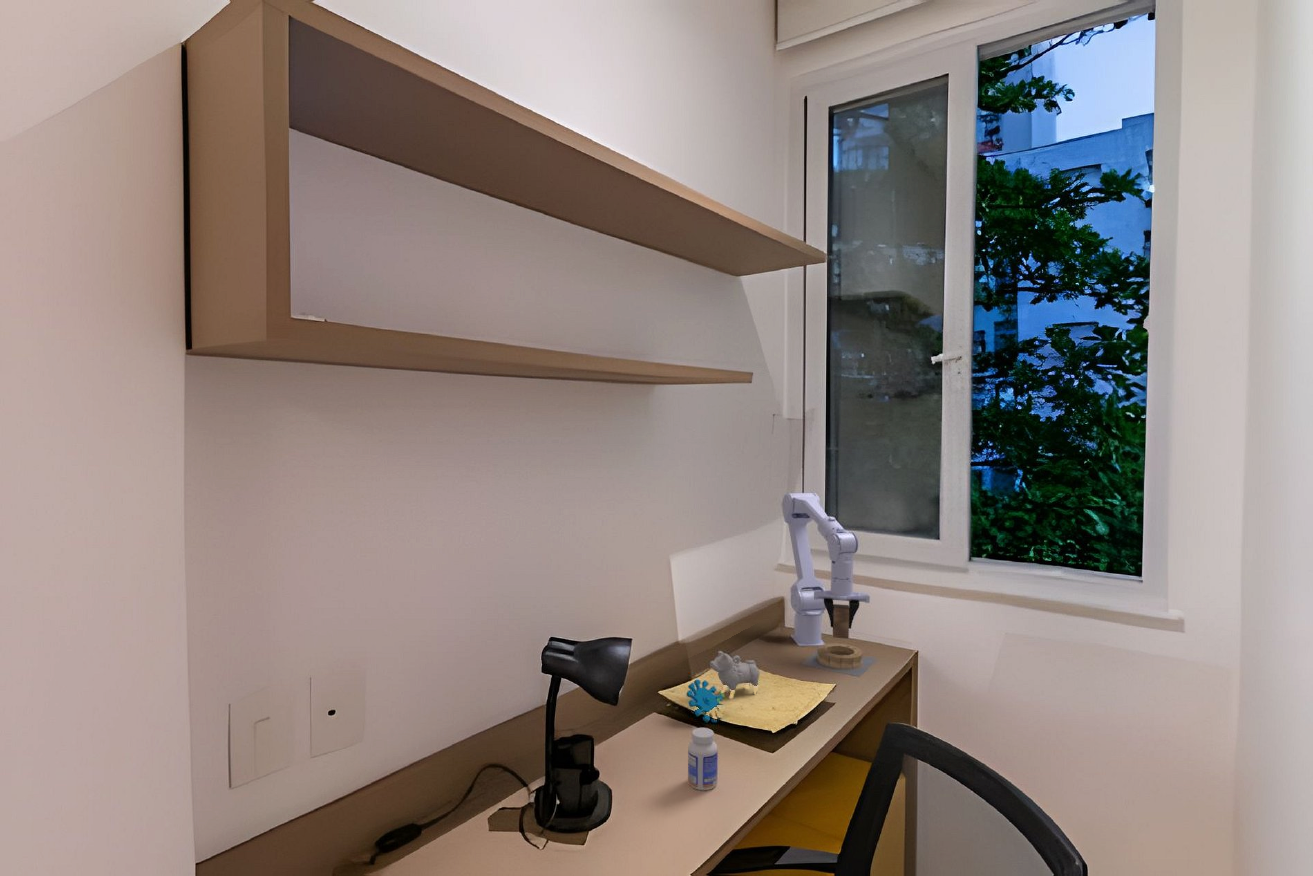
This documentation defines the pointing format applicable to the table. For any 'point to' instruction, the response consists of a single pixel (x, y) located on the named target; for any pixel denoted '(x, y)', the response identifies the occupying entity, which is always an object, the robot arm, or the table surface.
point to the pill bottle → (702, 760)
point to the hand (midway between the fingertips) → (840, 626)
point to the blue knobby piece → (703, 698)
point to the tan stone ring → (840, 656)
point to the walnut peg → (840, 621)
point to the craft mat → (855, 672)
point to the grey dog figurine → (735, 670)
